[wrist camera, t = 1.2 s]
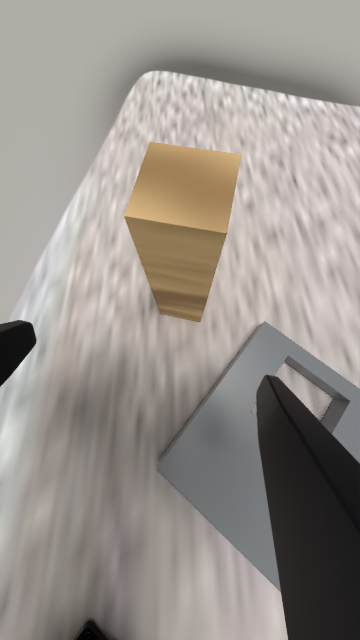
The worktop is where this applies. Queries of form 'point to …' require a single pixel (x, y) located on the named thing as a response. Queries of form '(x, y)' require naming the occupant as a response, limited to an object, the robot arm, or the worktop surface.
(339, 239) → the worktop surface
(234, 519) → the socket board
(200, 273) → the pin
